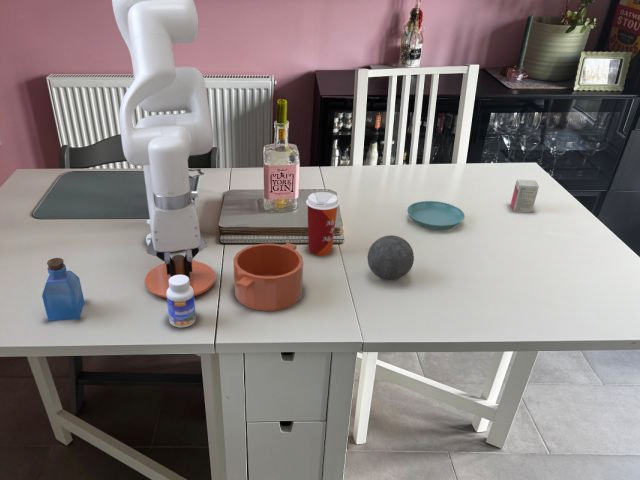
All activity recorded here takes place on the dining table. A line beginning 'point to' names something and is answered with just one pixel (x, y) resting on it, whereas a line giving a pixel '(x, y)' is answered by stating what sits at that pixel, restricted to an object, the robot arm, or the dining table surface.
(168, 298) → the pill bottle
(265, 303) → the orange cooking pot
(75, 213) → the dining table surface
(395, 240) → the decorative ball
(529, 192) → the small box
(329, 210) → the paper cup
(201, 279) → the lid
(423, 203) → the saucer
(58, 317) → the perfume bottle
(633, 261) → the dining table surface
